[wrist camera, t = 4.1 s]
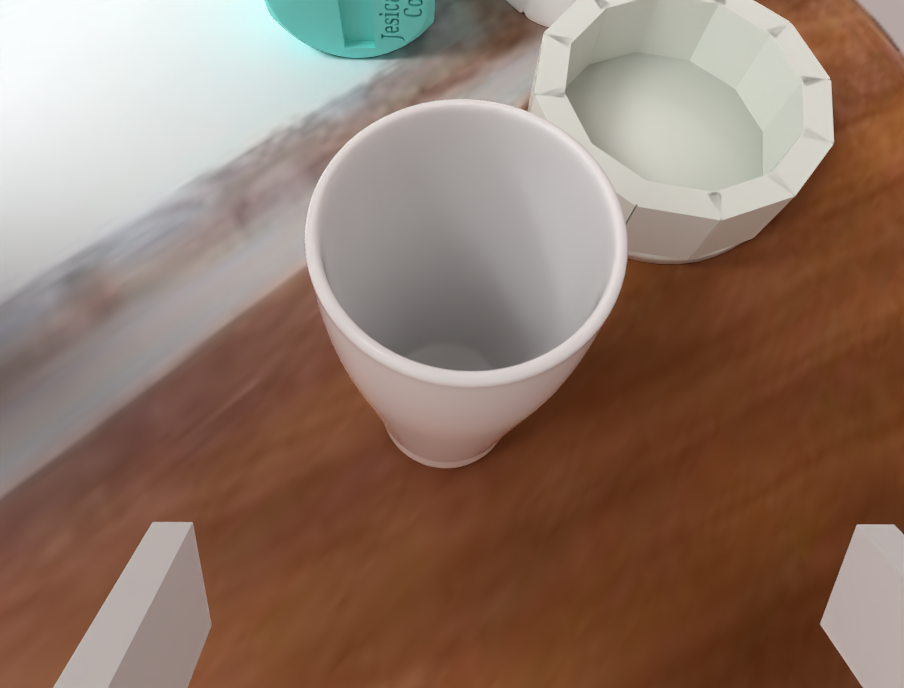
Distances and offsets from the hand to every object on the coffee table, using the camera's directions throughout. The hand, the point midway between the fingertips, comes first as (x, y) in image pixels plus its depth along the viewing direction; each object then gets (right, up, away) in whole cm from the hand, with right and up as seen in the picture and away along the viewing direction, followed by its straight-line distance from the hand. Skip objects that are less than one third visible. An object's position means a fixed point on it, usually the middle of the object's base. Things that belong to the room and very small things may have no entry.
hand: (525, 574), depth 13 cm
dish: (+9, +15, +19) cm, 25 cm away
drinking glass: (-2, +2, +14) cm, 15 cm away
